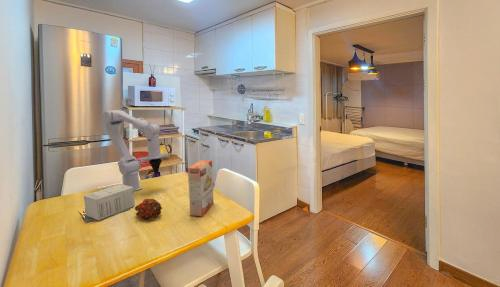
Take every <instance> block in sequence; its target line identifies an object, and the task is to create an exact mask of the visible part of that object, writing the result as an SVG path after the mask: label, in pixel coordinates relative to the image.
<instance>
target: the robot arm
mask: <svg viewBox="0 0 500 287" xmlns="http://www.w3.org/2000/svg"><path fill="white" fill-rule="evenodd" d="M100 119H101V121H102V123H103V125H104V127H105V131H106V133H107V135H108V137H109V139H110V141H111V143H112V145H113V147H114V149H115V151H116V153H117V155H118V157H119V161H118V162H117V166H118V169H119V173H120V174H121V175H122V178H121V179H122V185H127V186H131V187H133V190H134V192H135V191H139V190H143V187H141V186H140V180H139V179H140V178H139V172H140V170H141V167H142V165H141V163H144V162H149V164H150V167H151V168H152V170H153V174H155V175H157V174H159V169H160V166H161V164H162V161H163V160H162V159H166V158H167V159H168V158H170V154H169V153H161V148H160V145H161V144H160V137H159V136H160V133H161V126H160V124H158V123H155V122H154V123H152V121H147V120H145V119H144V118H143V117H138V118H136V117H134V116H133V115H130V114H129V113H127V112H126V111H125V110H123V109H115V110H104V111H103V112H102V114H101V117H100ZM123 122H126V123H129V124H131V125H132V126H133V128H134V129H137V130H138V131H139V132H140V131H141V132H143V134H144V135H145V138H146V142H147V152H148V153H147V154H148V156H143V157H140V158H139V159H137V158H136V156H134V155H133V154H131V153H130V151H129V149H128V146H127V144H126V143H125V141H124V138H123V136H122V134H121V132H120V130H119V127H120V126H121V125H122V123H123Z"/></svg>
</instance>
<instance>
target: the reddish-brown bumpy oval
mask: <svg viewBox="0 0 500 287" xmlns="http://www.w3.org/2000/svg"><path fill="white" fill-rule="evenodd" d="M162 209H163V207H162V204H161V203H160V202H159V201H157V200H156V199H154V198H145V199H144V200H142V202H140V203H138V204H137V205H135V207H134V211H136V212H135V215H136V217H139V216H140V217H141V216H142V218H143V220H146V219H148V218H149V219H154V218H156V216H160V215H161V214H162V211H161V210H162Z"/></svg>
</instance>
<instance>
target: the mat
mask: <svg viewBox="0 0 500 287" xmlns="http://www.w3.org/2000/svg"><path fill="white" fill-rule="evenodd" d="M129 211H131V207H130V208H128V209H126V210H123V211H121V212H118V213H116V214H113V215H111V216H115V215H118V214H121V213H124V212H129ZM83 213H86V210H85V212H84V211H83ZM83 215H84V216H85V218H84V217H83V218H82V219H83V221H84V222H85V224H87V223H91V222H95V221H97V220H96V219H94V218H91V217H89V216H86V214H83ZM83 215H82V216H83ZM82 216H81V217H82ZM111 216H110V217H111Z"/></svg>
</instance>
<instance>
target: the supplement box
mask: <svg viewBox="0 0 500 287" xmlns="http://www.w3.org/2000/svg"><path fill="white" fill-rule="evenodd" d="M83 202H84V209H85V210H86V216H89V217H91V218H94V219H96V220H95V221H101V220H104V219H105V218H108V217H111V215H112V216H114V215H113V214H115V215H117V214H116V213H118V212H121V211H123V210H126V209H128V208H130V209H131V208H133V207H134V206H135V207H136V203H135V191H134V190H133V187H131V186H127V185H123V183H120V184H117V185H114V186H110V187H107V188H105V189H101V190H97V191H95V192H92V193H91V192H90V193H88V194H85V195H83ZM118 214H119V213H118Z"/></svg>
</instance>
